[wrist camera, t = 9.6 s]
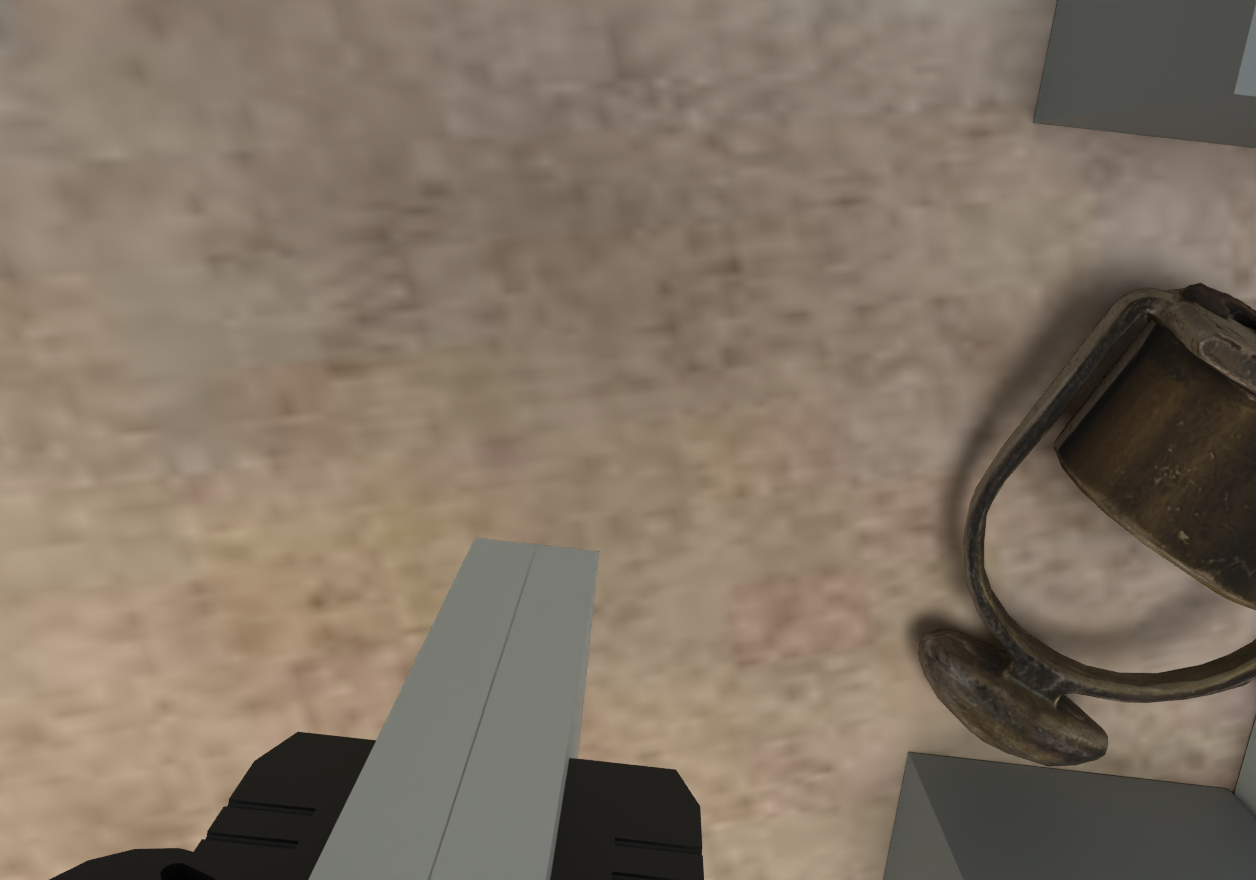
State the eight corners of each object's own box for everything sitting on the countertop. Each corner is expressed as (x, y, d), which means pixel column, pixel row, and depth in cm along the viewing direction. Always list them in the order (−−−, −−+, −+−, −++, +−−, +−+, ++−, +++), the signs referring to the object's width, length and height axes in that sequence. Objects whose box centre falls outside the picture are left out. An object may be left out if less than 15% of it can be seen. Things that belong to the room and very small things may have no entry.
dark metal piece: (1020, 187, 25) (1508, 247, 22) (938, 573, 33) (1295, 659, 30) (984, 324, 20) (1622, 429, 17) (897, 748, 28) (1327, 876, 24)
